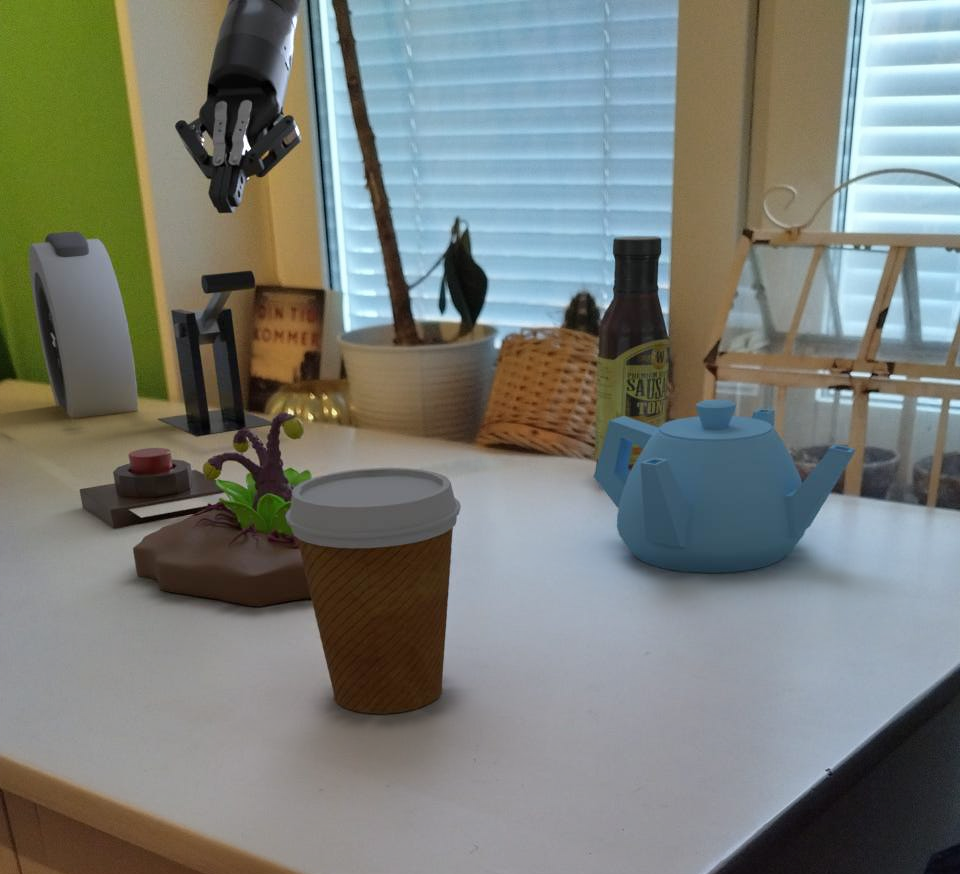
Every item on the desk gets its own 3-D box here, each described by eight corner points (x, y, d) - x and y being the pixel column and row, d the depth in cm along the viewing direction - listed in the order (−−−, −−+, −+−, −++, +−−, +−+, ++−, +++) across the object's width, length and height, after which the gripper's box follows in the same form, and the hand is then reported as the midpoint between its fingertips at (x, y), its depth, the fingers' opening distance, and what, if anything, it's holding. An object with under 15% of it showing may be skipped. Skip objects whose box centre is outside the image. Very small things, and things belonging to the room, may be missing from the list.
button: (139, 479, 113) (136, 458, 112) (126, 472, 116) (122, 451, 115) (179, 472, 115) (176, 452, 114) (165, 465, 118) (162, 445, 117)
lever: (258, 287, 130) (250, 263, 130) (210, 292, 127) (202, 268, 127) (225, 341, 141) (218, 320, 140) (181, 347, 138) (174, 325, 138)
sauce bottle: (630, 490, 115) (634, 241, 106) (580, 479, 120) (579, 239, 110) (680, 476, 119) (688, 235, 109) (629, 466, 123) (633, 232, 114)
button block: (114, 529, 111) (106, 487, 109) (82, 508, 118) (75, 468, 116) (235, 507, 116) (230, 466, 114) (198, 487, 123) (192, 449, 121)
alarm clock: (52, 405, 164) (19, 229, 154) (113, 398, 166) (83, 225, 156) (78, 435, 146) (41, 240, 137) (145, 427, 149) (114, 234, 139)
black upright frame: (278, 437, 141) (263, 309, 135) (199, 450, 137) (180, 319, 131) (235, 421, 150) (219, 300, 144) (159, 432, 146) (140, 308, 140)
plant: (264, 623, 88) (243, 453, 83) (101, 573, 100) (73, 421, 95) (467, 552, 101) (460, 401, 95) (301, 514, 113) (286, 378, 107)
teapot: (771, 515, 107) (781, 376, 101) (849, 568, 94) (865, 411, 88) (588, 532, 105) (588, 390, 99) (642, 589, 92) (645, 429, 86)
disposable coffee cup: (336, 739, 71) (313, 519, 65) (287, 681, 79) (262, 480, 73) (496, 705, 74) (487, 492, 69) (433, 653, 82) (421, 458, 76)
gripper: (176, 33, 129) (143, 180, 125) (303, 25, 126) (274, 174, 122) (204, 96, 136) (174, 236, 132) (326, 89, 133) (299, 233, 129)
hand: (223, 206), depth 127 cm, fingers closed
